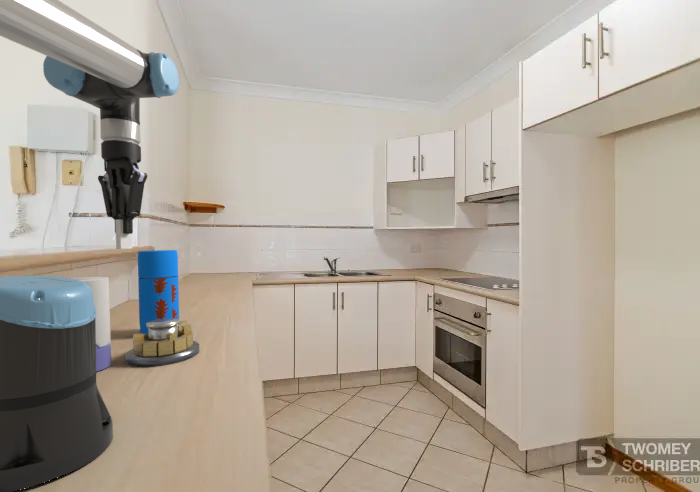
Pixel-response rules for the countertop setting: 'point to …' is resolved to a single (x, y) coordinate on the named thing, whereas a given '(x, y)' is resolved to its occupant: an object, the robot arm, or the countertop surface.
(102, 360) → the container
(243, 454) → the countertop surface
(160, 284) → the thermos
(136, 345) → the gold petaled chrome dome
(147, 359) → the base
